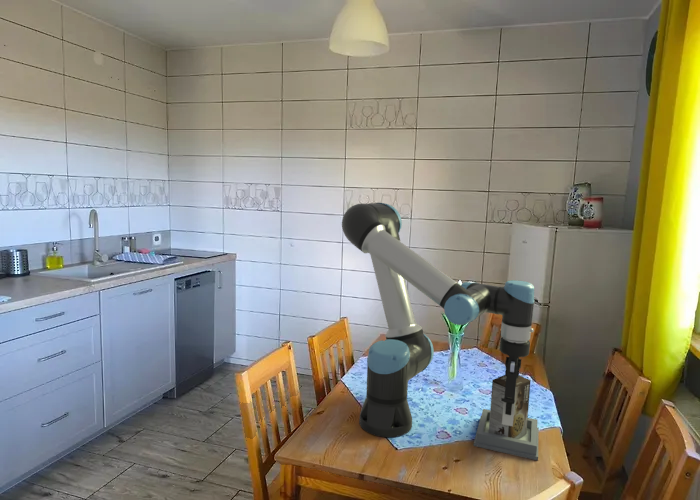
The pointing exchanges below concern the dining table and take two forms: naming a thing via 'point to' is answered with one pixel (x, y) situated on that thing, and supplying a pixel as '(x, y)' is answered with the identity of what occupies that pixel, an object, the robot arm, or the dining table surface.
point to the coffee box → (519, 408)
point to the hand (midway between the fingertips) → (508, 413)
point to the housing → (508, 439)
